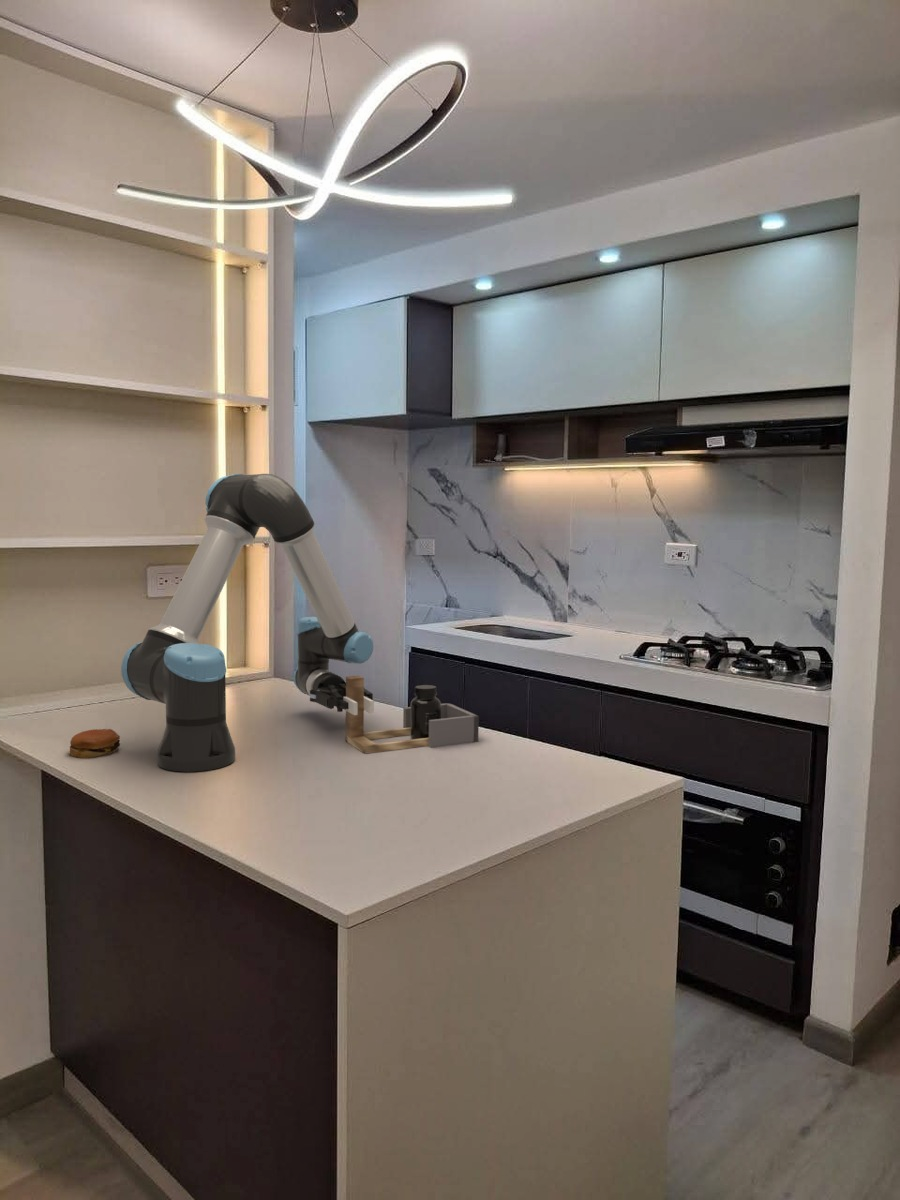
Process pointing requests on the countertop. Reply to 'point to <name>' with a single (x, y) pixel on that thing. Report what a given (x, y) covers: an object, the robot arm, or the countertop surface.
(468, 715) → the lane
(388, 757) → the countertop surface
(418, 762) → the countertop surface
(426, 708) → the supplement bottle
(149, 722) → the countertop surface
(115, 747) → the burger
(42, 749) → the countertop surface
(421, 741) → the wooden corner frame
